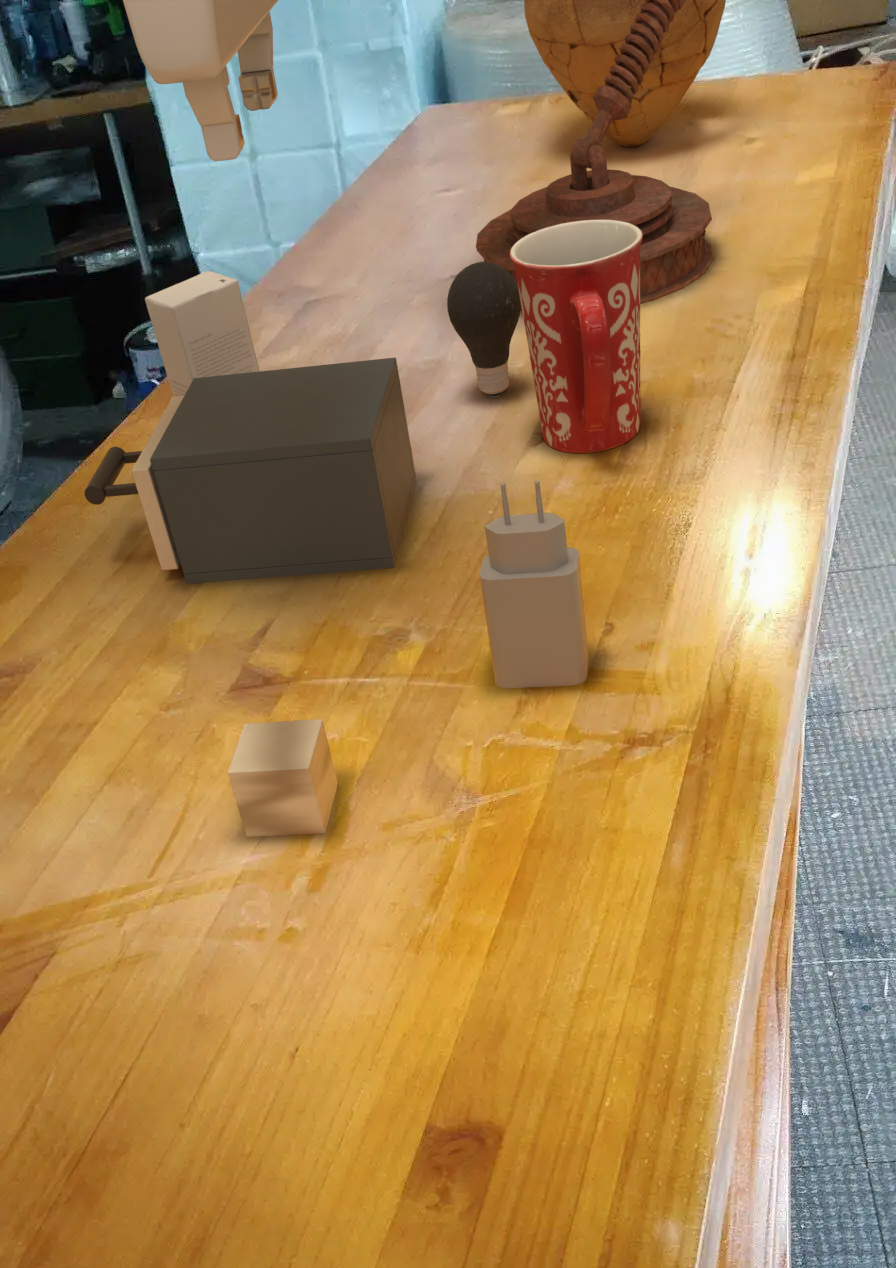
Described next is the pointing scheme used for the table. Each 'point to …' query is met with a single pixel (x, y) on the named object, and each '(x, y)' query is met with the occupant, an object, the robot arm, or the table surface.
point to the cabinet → (288, 472)
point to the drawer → (140, 487)
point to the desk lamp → (617, 183)
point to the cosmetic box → (201, 330)
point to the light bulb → (486, 320)
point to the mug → (583, 330)
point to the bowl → (590, 39)
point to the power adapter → (533, 600)
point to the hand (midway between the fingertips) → (245, 130)
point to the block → (283, 778)
